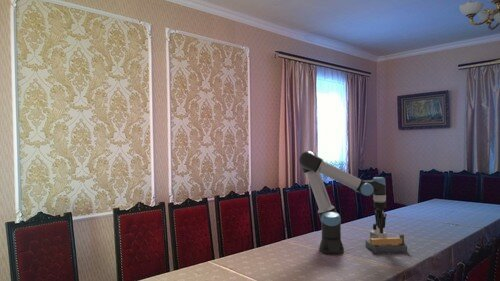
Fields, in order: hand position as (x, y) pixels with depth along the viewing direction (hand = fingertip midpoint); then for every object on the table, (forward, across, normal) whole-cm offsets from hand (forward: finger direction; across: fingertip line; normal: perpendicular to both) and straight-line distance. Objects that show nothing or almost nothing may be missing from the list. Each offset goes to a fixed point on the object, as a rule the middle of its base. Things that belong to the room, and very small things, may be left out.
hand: (380, 237), depth 222 cm
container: (+6, +8, -2) cm, 11 cm away
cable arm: (+2, -8, -1) cm, 8 cm away
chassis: (+6, -5, -1) cm, 8 cm away
